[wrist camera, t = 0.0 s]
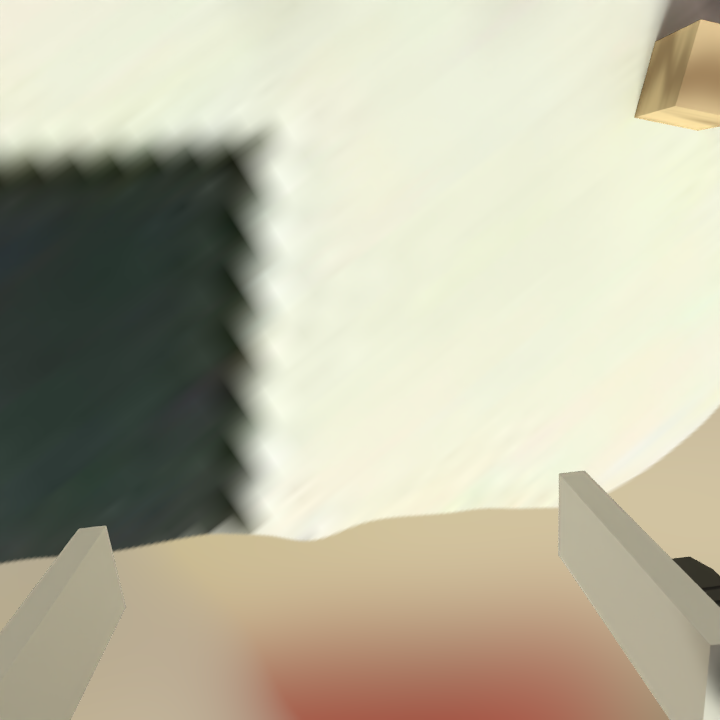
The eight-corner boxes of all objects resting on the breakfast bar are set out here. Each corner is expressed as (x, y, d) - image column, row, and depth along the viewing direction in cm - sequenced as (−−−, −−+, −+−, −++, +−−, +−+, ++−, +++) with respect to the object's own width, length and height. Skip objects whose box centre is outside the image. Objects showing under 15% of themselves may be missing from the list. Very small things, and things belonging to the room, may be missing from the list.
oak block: (654, 42, 39) (700, 19, 34) (719, 56, 40) (774, 36, 35) (633, 117, 40) (675, 105, 36) (697, 130, 41) (746, 121, 36)
